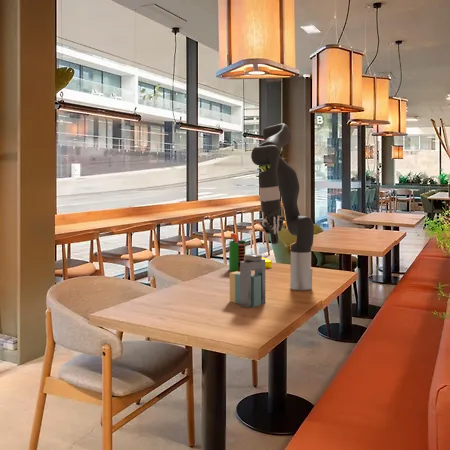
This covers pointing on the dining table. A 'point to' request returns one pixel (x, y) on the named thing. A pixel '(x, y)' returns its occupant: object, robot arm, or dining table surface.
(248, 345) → the dining table surface
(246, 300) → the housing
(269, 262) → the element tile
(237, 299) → the sage green rectangular prism
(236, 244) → the motor
